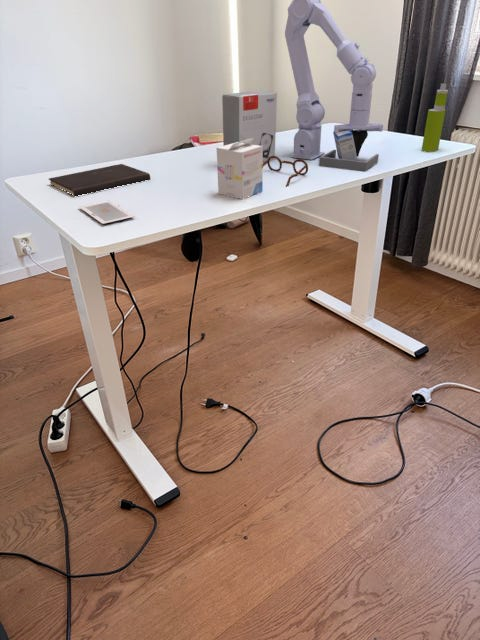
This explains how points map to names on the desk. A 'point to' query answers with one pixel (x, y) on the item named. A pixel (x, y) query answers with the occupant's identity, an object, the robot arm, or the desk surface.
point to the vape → (435, 122)
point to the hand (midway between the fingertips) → (355, 156)
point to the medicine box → (345, 145)
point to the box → (347, 162)
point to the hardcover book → (99, 179)
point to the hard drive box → (250, 119)
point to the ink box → (240, 169)
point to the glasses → (288, 163)
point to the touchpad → (106, 211)
